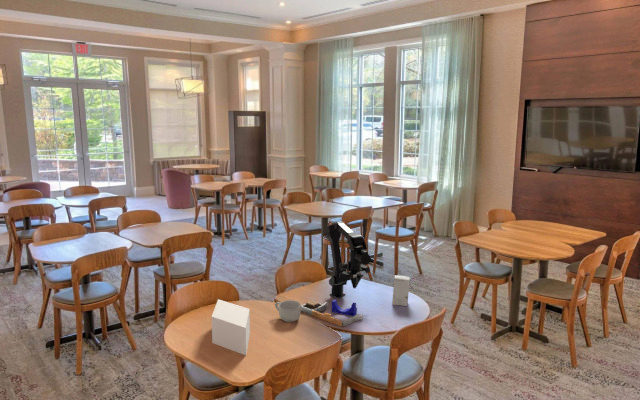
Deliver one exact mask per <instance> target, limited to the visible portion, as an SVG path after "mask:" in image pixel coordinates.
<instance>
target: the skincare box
mask: <svg viewBox="0 0 640 400" xmlns="http://www.w3.org/2000/svg"><path fill="white" fill-rule="evenodd" d="M410 278H411V277H410V276H408V275H407V276H406V275H398V274H397V275H396V274H395V275H394V277H393V290H392V305H393V306H403V307H408V303H409V292H410V280H411V279H410Z"/></svg>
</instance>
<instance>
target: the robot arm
mask: <svg viewBox="0 0 640 400" xmlns="http://www.w3.org/2000/svg"><path fill="white" fill-rule="evenodd" d="M324 233H325V236H326V239H328V241H329V242H330V250H331V258H332V264H333V269H332V270H331V277H330V278H329V280H328V284H329V285H330V286H331V293H329V296H332V297H335V298H337V299H338V298H339V299H340V298H341V297H344V296H346V293H344V286H346V285H347V284H348V283H347V282H348V281H350V282H351V285H352V288H353V289H357V287H358V286H359V283H360V281H361V279H362V278H363V277H364V275H363V274H362V272H365V274H368V273H370V272H371V268H370V267H369V266H368V265H369V264H370V262H371V260H372V257H371V255H370V254H369V252H368V248H367V244H366V242H365V238H364V237H363V235H361V234H360V233H358V232H357V233H356V232H355V231H353V230H352V229H350V227H348V226H347V225H346V223H345V222H344V221H335V222H334V223H332V224H330V225H327V226H326V227H325V228H324ZM342 236H343V237H344V238H345V239H346V242H347V245H348V246H349V247H348V250H349V260H348V261H347V262H343V260H342V252H341V247H340V239H341V237H342Z"/></svg>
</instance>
